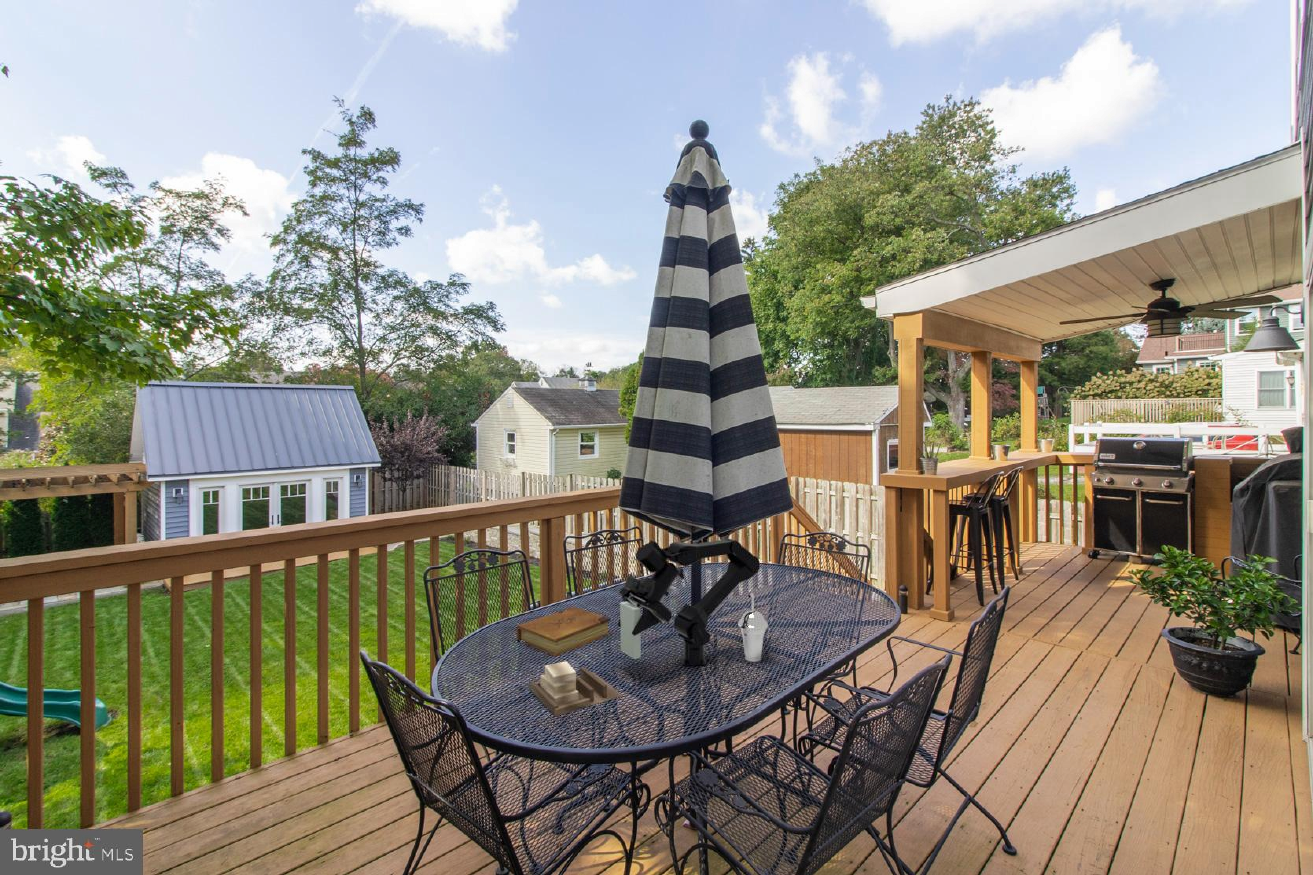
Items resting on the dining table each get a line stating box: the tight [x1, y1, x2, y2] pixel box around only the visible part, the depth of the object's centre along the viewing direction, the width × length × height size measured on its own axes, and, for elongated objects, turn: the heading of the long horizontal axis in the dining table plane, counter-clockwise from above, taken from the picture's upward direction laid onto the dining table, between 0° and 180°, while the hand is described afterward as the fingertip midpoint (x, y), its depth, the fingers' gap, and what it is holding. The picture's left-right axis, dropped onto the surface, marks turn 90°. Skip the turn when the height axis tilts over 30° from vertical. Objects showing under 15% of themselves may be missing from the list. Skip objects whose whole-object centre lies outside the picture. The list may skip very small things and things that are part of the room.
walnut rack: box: [529, 666, 624, 717], centre depth 146 cm, size 18×16×4 cm
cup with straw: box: [737, 592, 769, 663], centre depth 167 cm, size 8×9×20 cm
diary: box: [516, 606, 612, 657], centre depth 185 cm, size 23×19×6 cm
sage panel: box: [619, 601, 642, 660], centre depth 154 cm, size 2×7×13 cm, turn 33°
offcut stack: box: [539, 661, 578, 706], centre depth 143 cm, size 7×9×7 cm
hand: (625, 630), depth 154 cm, fingers closed on sage panel, 7 cm apart
